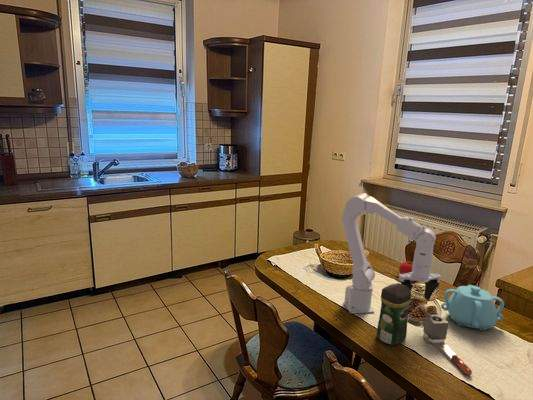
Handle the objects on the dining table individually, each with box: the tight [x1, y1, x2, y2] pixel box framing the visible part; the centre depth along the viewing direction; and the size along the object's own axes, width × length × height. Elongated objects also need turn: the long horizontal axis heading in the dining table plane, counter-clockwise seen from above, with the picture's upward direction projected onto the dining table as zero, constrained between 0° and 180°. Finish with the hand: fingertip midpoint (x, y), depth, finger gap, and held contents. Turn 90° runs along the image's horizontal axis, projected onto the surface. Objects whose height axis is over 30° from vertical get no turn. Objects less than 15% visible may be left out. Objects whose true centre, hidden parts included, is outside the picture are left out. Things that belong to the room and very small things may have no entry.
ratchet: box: [422, 331, 473, 376], centre depth 114 cm, size 21×6×4 cm, turn 8°
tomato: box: [398, 260, 413, 274], centre depth 168 cm, size 9×9×8 cm
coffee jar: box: [376, 282, 412, 346], centre depth 119 cm, size 10×8×19 cm
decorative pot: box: [440, 284, 505, 331], centre depth 132 cm, size 16×16×14 cm
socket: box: [422, 314, 449, 340], centre depth 121 cm, size 5×5×6 cm
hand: (416, 299), depth 129 cm, fingers open, 7 cm apart
